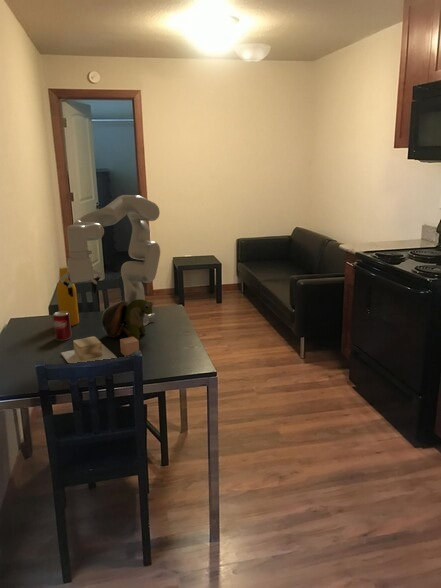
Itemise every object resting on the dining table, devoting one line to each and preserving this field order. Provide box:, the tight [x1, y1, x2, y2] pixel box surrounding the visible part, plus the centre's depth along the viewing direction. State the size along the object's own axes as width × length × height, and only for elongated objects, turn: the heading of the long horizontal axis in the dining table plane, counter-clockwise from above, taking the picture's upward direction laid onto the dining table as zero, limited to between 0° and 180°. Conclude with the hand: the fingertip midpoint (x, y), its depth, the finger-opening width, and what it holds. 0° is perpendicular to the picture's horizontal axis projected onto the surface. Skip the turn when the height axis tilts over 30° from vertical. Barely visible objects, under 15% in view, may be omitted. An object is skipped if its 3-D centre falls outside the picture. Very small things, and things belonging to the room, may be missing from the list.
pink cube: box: [119, 337, 140, 357], centre depth 202 cm, size 6×6×6 cm
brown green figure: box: [101, 299, 154, 341], centre depth 219 cm, size 19×16×25 cm
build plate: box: [60, 343, 118, 364], centre depth 199 cm, size 18×18×1 cm
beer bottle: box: [56, 266, 80, 327], centre depth 236 cm, size 9×9×29 cm
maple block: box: [72, 335, 102, 361], centre depth 198 cm, size 9×9×6 cm
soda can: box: [52, 311, 73, 342], centre depth 219 cm, size 7×7×12 cm
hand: (82, 294), depth 202 cm, fingers open, 9 cm apart
